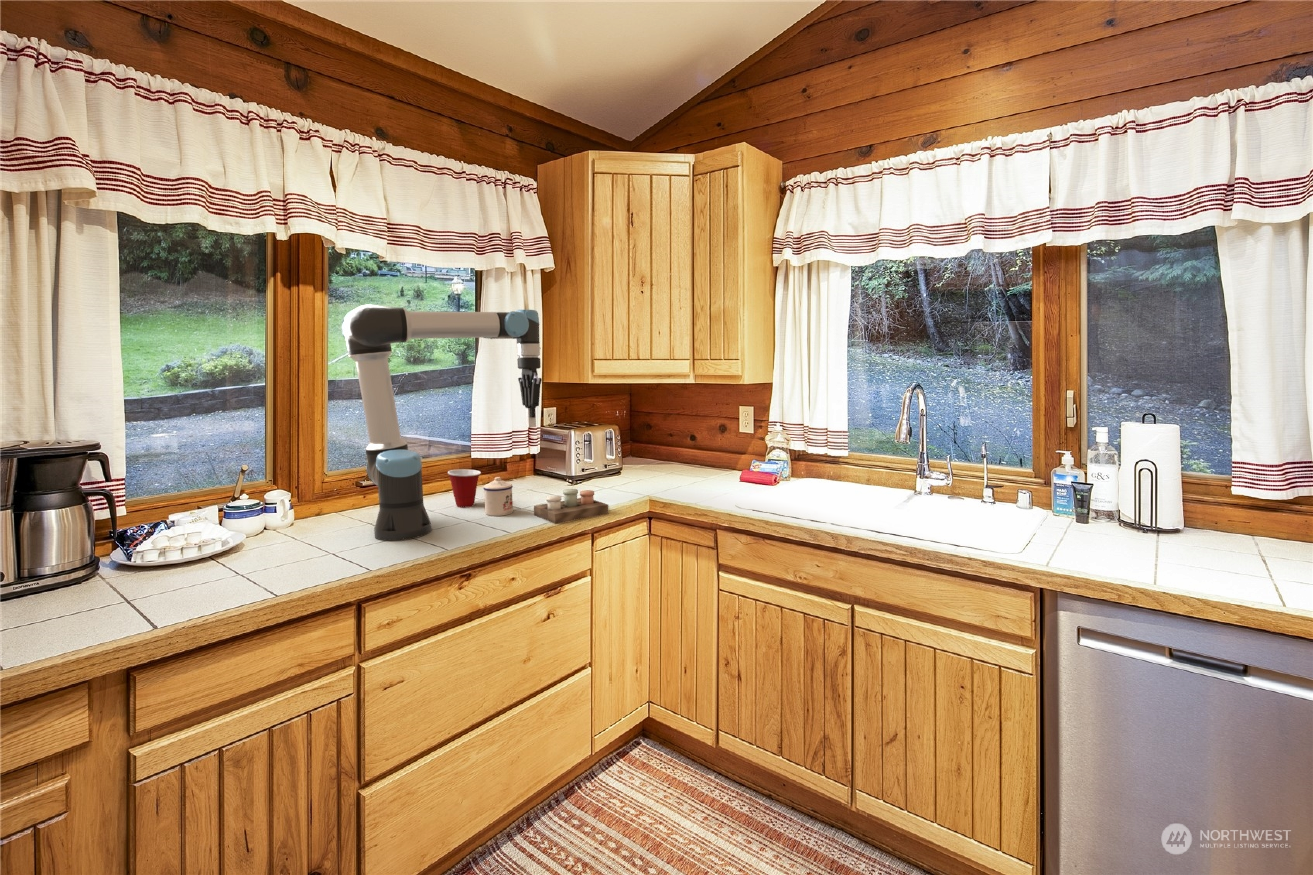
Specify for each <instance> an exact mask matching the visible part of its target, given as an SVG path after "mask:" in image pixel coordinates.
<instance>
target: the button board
mask: <svg viewBox="0 0 1313 875" xmlns="http://www.w3.org/2000/svg"><path fill="white" fill-rule="evenodd" d="M593 500H594V503H593V504H587V505H584V504H581V497H579V498H578V497H577V506H575V507H570V508H567V507H565V500H561V501H560V502H561V509H558V510H553V511H550V510H548V503H544V504H536V505H533V515H534V516H535V517H538V518H541V519H542V520H545V521H548V522H550V523H553V524H554V525H555V524H556V525H557V524H561V523H567V522H573V521H578V520H582V519H588V518H594V517H598V516H603V515H609V504H608V503H604V502H601V501H598V500H596V499H593Z"/></svg>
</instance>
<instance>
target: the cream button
mask: <svg viewBox="0 0 1313 875" xmlns="http://www.w3.org/2000/svg"><path fill="white" fill-rule="evenodd" d="M560 501H562V496H561V495H547V496H546V502H547V503H546V504H548V510H550V511H553V510H558V509H561V502H560Z"/></svg>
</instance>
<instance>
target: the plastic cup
mask: <svg viewBox="0 0 1313 875" xmlns="http://www.w3.org/2000/svg"><path fill="white" fill-rule="evenodd" d="M481 474H482V472H481V471H480V470H476V469H467V468H466V469H464V468H461V469H459V468H458V469H451V470H447V475H448V476H449V480H450V484H451V488H452V493H453V497H454V501H455V506H456V507H457V508H469V507H474V506H475V501H476V495H477V489H478V488H477V487H478V481H479V477H480V475H481Z"/></svg>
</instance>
